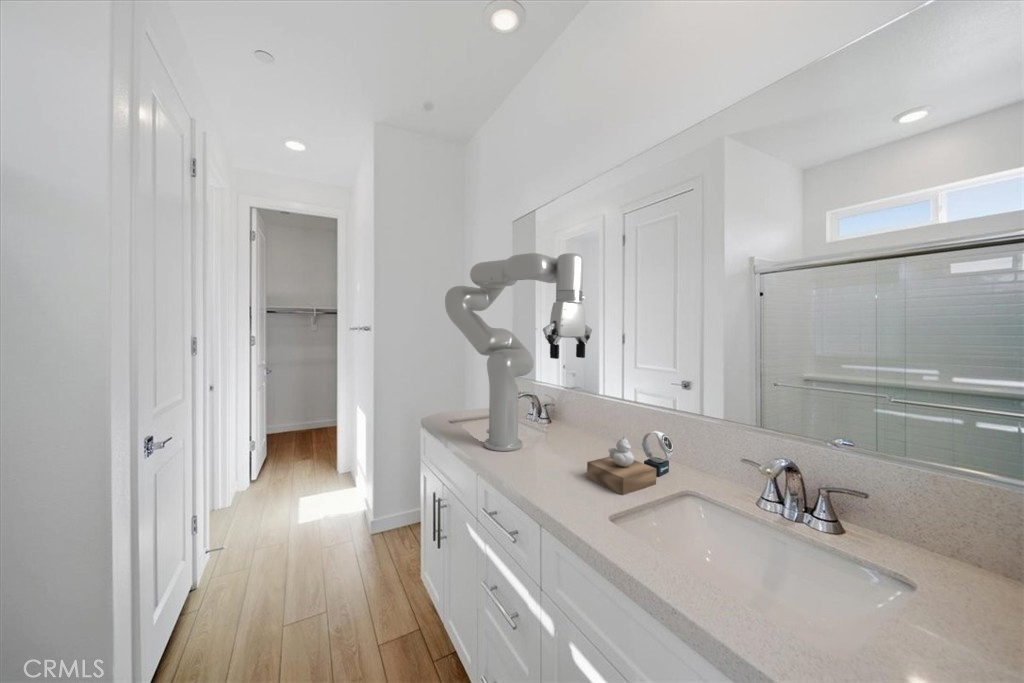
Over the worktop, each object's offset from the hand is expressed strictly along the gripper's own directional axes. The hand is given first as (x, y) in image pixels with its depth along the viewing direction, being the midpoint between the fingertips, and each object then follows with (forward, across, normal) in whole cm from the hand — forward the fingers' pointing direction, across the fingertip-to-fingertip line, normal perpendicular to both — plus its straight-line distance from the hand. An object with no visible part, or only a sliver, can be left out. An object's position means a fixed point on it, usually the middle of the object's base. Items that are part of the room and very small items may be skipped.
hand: (567, 357), depth 105 cm
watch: (+31, -17, +18) cm, 39 cm away
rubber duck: (+26, -4, +17) cm, 32 cm away
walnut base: (+30, -4, +17) cm, 35 cm away
